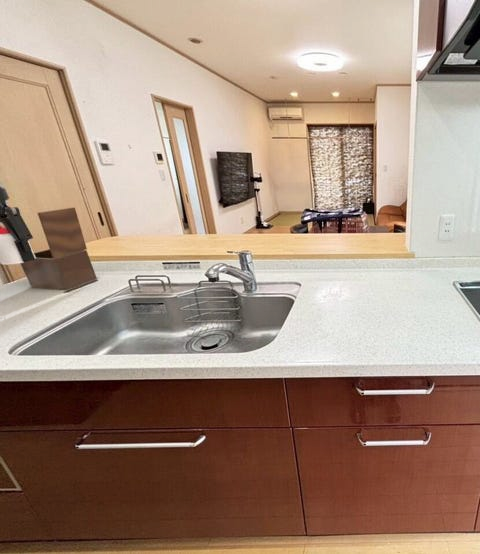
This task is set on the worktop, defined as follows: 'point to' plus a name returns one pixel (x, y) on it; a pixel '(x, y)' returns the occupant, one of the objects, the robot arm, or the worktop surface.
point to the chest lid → (62, 231)
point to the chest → (59, 271)
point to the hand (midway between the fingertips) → (18, 259)
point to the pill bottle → (9, 248)
